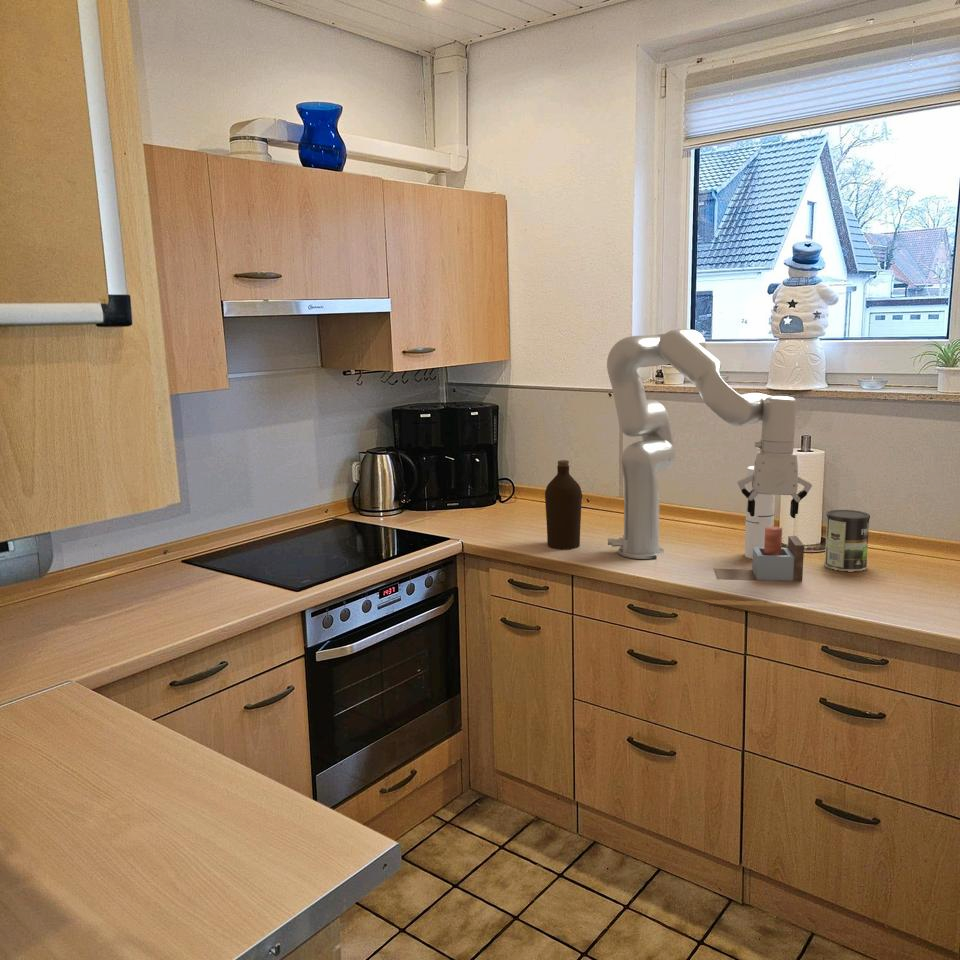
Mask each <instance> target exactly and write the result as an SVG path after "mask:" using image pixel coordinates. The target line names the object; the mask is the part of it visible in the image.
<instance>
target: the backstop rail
mask: <svg viewBox="0 0 960 960" xmlns="http://www.w3.org/2000/svg"><path fill="white" fill-rule="evenodd" d="M787 538H788V539H787V540H788V541H787V548H789V550H790V551H791V553H792V554H793V555H794V557H795V559H794V580H793V581H792V582H798V583H799V582H801V583H802V582H803V575H804V572H803V571H804V556H805V555H804V554H805V553H804V552H805V545H804V544H803V542H802V541H801V540H800V538H799V537H798V536H797V535H788V536H787ZM713 571H714V574H715V577H716V580H725V581H726V580H730V581H731V580H733V581H758V580H757V579H756V577H755V575H754V573H753V571H752V569H747V568H746V569H744V568H743V569H742V568H741V569H740V568H739V569H738V568H737V569H736V568H733V569H732V568H713ZM762 581H769V582H781V581H780V580H761V582H762Z"/></svg>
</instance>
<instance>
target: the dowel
mask: <svg viewBox="0 0 960 960" xmlns="http://www.w3.org/2000/svg"><path fill="white" fill-rule="evenodd" d="M782 540H783V527H779V526H770V527H765V543H764V555H781V548H783V546H782V542H783V541H782Z"/></svg>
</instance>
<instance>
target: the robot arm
mask: <svg viewBox="0 0 960 960" xmlns="http://www.w3.org/2000/svg"><path fill="white" fill-rule="evenodd" d="M706 347H707V343H706V339H705V337H704V336H703V335H702V333H700V332H699V331H697V330H696V329H691V328H690V329H688V328H687V329H686V328H684V329H673V330H669V331H667V332H665V333H662V334H653V335H652V334H651V335H649V334H648V335H632V336H627V337H624V338H622V339H620V340H618V341H617V342H616V343H615V344H614V345H612V347H611V349H610V351H609V353H608V355H607V359H606V369H607V374H608V378H609V379H608V380H609V383H610V384H611V390H612V394H613V400H614V404H615V410H616V417H617V420H618V424H619V428H620V431H621V432H622V433H623V435H624V436H626V437H631V438H636V437H641V438H642V440H639V441H636V442H632V443H631V444H629V445H628V446H627V447H626V448H625V449H624V450H623V451H622V453H621V457H620V465H621V470H622V475H623V476H622V477H623V491H624V492H623V500H624V501H623V505H624V506H623V514H624V515H623V535H622V537H618V538H610V537H609V538H607V545H608V546H611V547H613V548H614V547H618V549H617V552H618V554H619V555H620V556H622V557H624V558H629V559H638V560H650V559H651V560H652V559H657V556H659V555H662V554H663V553H664V552H665V549H664V548H663V547H661V546H659V538H660V537H659V535H660V534H659V533H660V486H659V483H658V479H657V476H656V473H661V472H663V471H666V470H668V469H670V468H671V467H672V466H673V465H674V463H675V461H676V457H677V456H676V445H675V440H674V435H673V429H672V424H671V421H670V416H669V415H670V414H669V413H668V410H667V408H666V407H665V406H664V405H663V404H662V403H661V402H659V401H657V400H654V399H647V395H646V391H645V390H646V389H645V385H644V382H643V380H642V378H641V376H640V374H639V373H638V372H637V371H638V369H639V368H648V367H657V366H658V367H659V366H665V365H666V366H667V365H671V366H672V367H673V368H674V369H675V370H676V371H677V372H679V374H681V375H683V377H685V378H686V379H687V380H688V381H689V382H690V383H691V384H692V385H694V387H696V389H697V392H698V394H699V396H700V398H701V399H702V401H703V402H704V404H705V405H706V406H707V408H709V409H710V410H711V411H712V412H713V413H715V414H716V415H717V416H718V417H719V418H720V419H721V420H723V421H724V422H726V423H727V424H729V425H731V426H735V427H742V426H747V425H753V424H758V423H759V424H760V423H761V435H760V436H761V437H760V440H759V441H755V442H754V448H757V449H759V450H760V451H759V450H758V451H757V452H756V457H755V461H754V465H753V466H754V472H753V475H751V476H748V477H744V478H742V479H740V480H738V481H737V485H738V487H739V490H740V492H741V493H742V494H743V495H744V496H745V498H746V497H747V498H748V507H747V512H750V515H751V516H752V517H753V516H754V513H755V500H754V498H755V497H756V496H757V495H758V494H767V495H775V496H791V497H792V499H791V500H790V508H789V509H790V510H789V515H790V517H791V518H792V519H795V518H796V516H797V515H798V514H799V505H800V504H799V503H800V502H801V501H802V500H803V499H804V498H805V497H806V496H808V493H809V492H810V490H811V489H812V487H813V484H812V483H811V482H809V481H807V480H805V479H804V478H801V477H799V475H798V474H799V471H798V469H799V465H798V455H797V453H794V442H795V434H796V433H795V430H796V421H797V419H796V418H797V417H796V416H797V400H796V398H795V397H792V396H786V395H769V394H764V393H760V392H749V393H742V394H741V393H738V392H737V390H736V391H735V389H733V388H732V387H731V386H730V385H728V383H726V382H725V381H724V379H723V378H722V377H721V374H720V370H721V368H722V365H721V361H720V360H719V359H718V358H717V357H715V356H714V355H713V354H712V353H711V352H709V351H708V350H707V349H706ZM750 482H752V487H753V489H752V490H751V491H750V492H748V491H747V487H746V485H747V483H750ZM798 484H800V485H801V486H803V488H802V490H800V491H798V487H799V485H798ZM797 492H798V493H797Z"/></svg>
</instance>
